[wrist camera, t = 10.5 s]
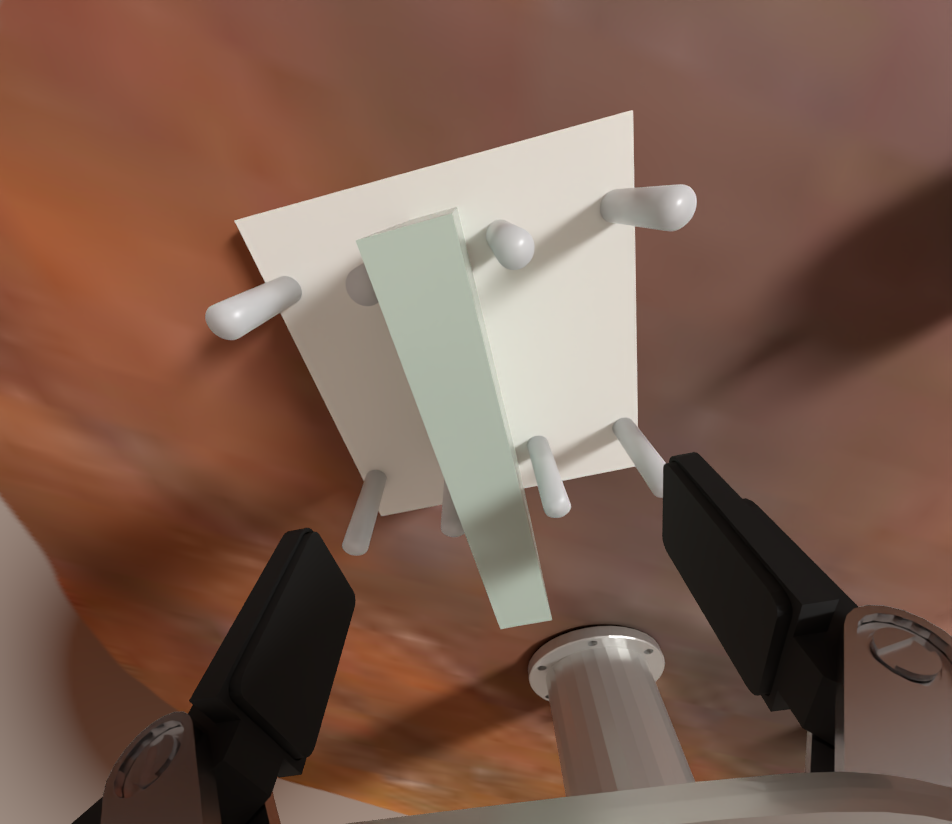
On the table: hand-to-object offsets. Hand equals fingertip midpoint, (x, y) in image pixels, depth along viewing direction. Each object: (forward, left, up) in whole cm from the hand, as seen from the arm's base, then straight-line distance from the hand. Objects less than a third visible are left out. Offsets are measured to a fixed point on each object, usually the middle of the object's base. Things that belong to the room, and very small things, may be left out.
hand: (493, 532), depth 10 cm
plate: (+1, 0, -10) cm, 10 cm away
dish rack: (+1, 0, -12) cm, 12 cm away
